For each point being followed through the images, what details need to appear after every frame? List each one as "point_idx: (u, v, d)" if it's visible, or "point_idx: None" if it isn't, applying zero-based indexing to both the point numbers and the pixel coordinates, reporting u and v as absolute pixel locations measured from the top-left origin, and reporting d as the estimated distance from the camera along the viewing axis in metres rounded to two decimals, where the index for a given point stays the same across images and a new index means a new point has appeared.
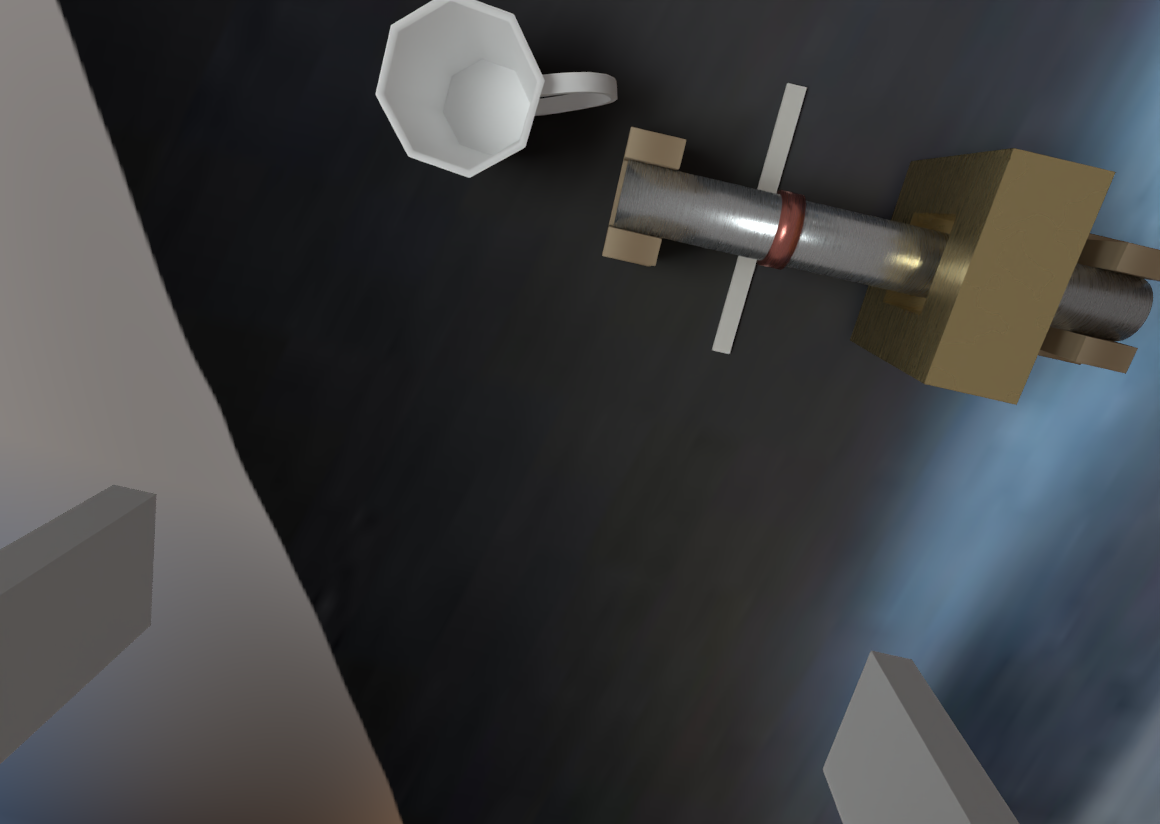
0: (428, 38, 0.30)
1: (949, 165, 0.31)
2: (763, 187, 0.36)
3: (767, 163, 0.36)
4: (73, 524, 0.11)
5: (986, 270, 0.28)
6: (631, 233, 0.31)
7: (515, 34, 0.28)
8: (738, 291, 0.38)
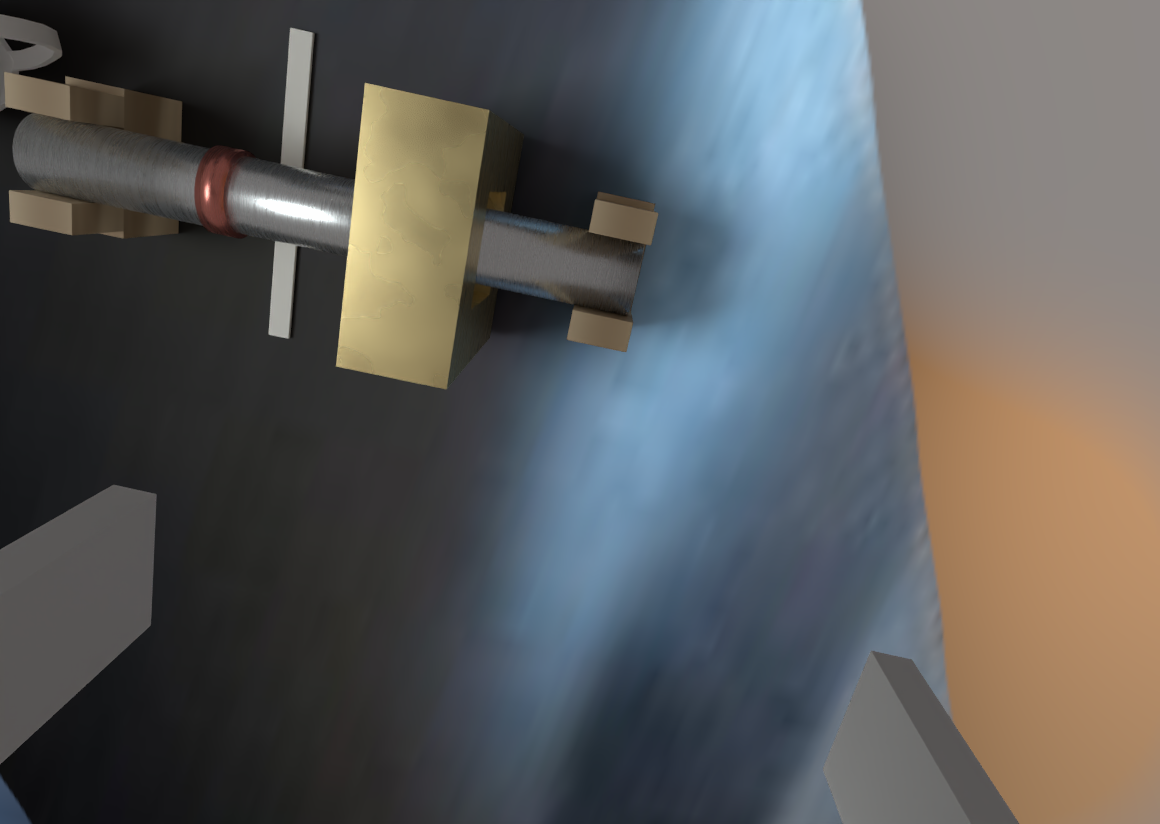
0: None
1: None
2: (287, 148, 0.32)
3: (286, 121, 0.32)
4: (73, 523, 0.11)
5: (372, 231, 0.23)
6: (35, 197, 0.27)
7: None
8: (283, 267, 0.34)
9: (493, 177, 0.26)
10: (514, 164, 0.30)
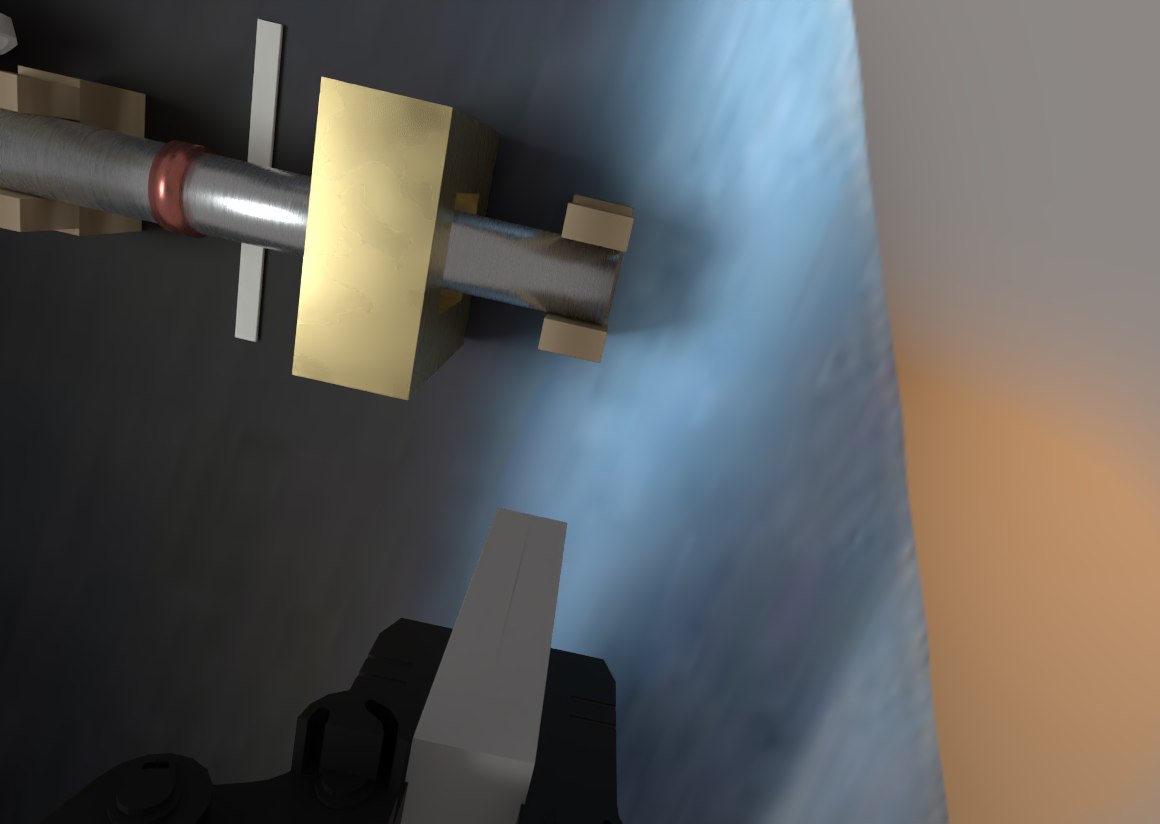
0: None
1: None
2: (255, 144, 0.31)
3: (253, 116, 0.31)
4: (503, 542, 0.13)
5: (329, 233, 0.22)
6: None
7: None
8: (250, 268, 0.33)
9: (461, 178, 0.24)
10: (488, 165, 0.29)
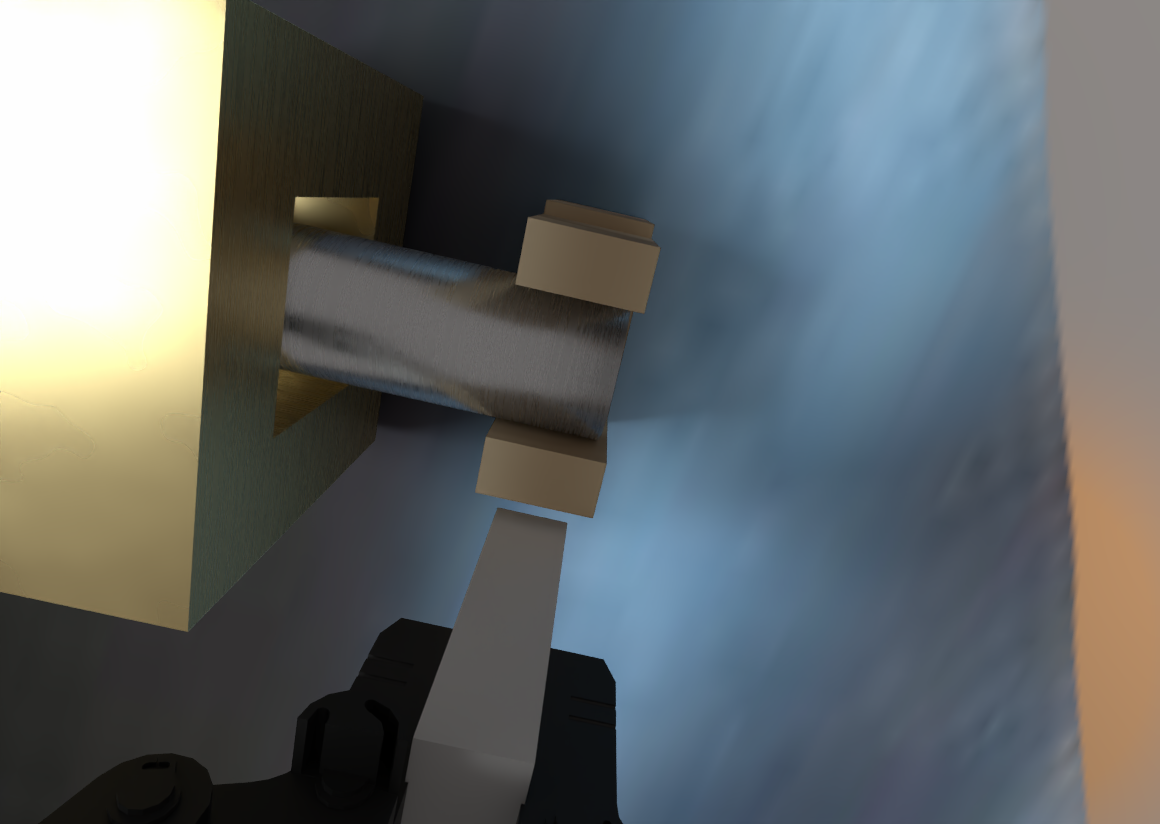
0: None
1: None
2: None
3: None
4: (503, 541, 0.13)
5: None
6: None
7: None
8: None
9: (309, 167, 0.12)
10: (399, 147, 0.17)
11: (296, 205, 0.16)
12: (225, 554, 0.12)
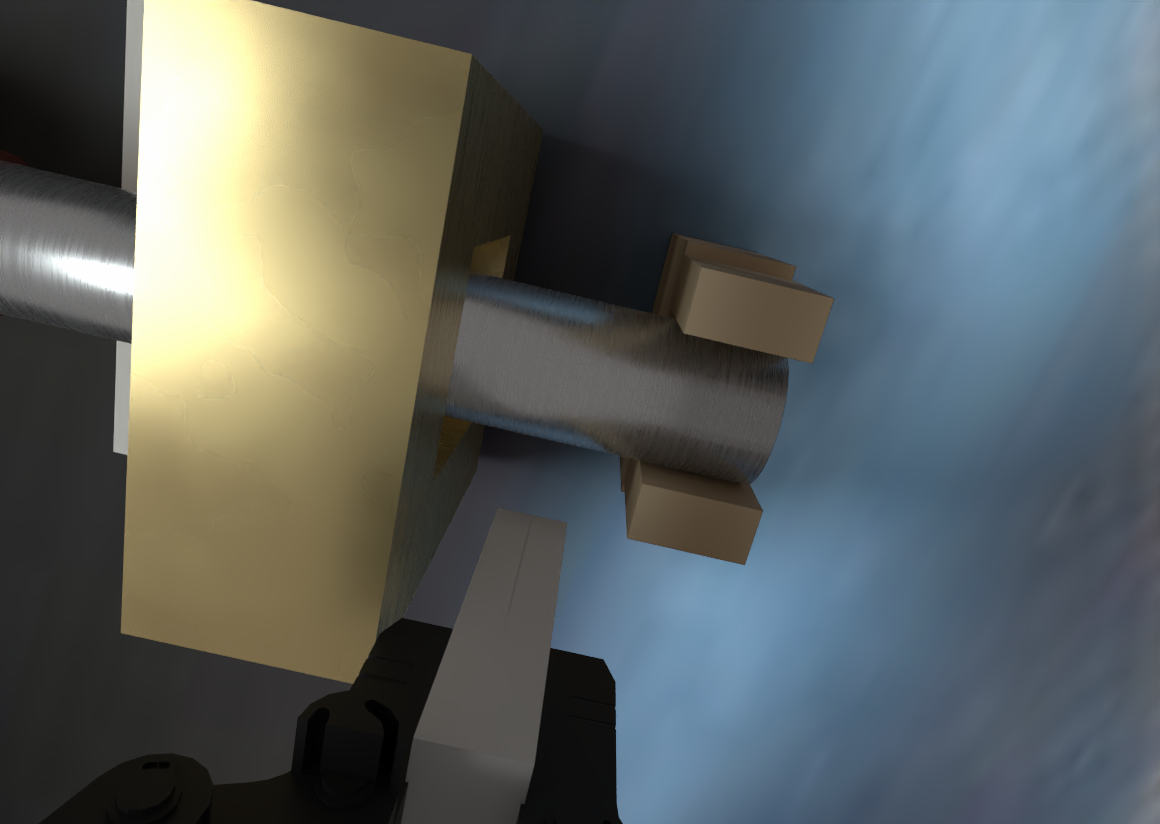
0: None
1: None
2: (133, 146, 0.19)
3: (128, 98, 0.18)
4: (503, 542, 0.13)
5: (185, 347, 0.10)
6: None
7: None
8: None
9: (483, 216, 0.12)
10: (526, 183, 0.16)
11: None
12: (395, 605, 0.12)
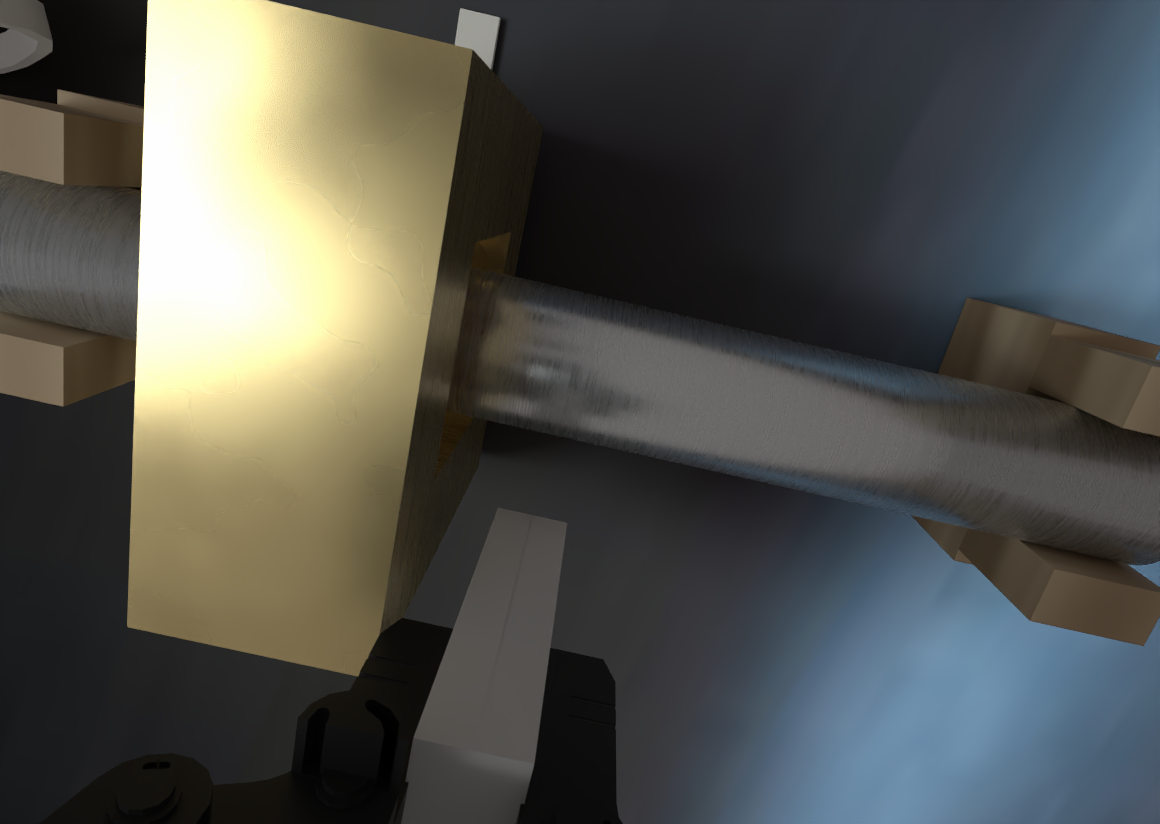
0: None
1: None
2: None
3: None
4: (503, 542, 0.13)
5: (190, 342, 0.10)
6: None
7: None
8: None
9: (484, 211, 0.12)
10: (526, 180, 0.17)
11: None
12: (398, 599, 0.12)
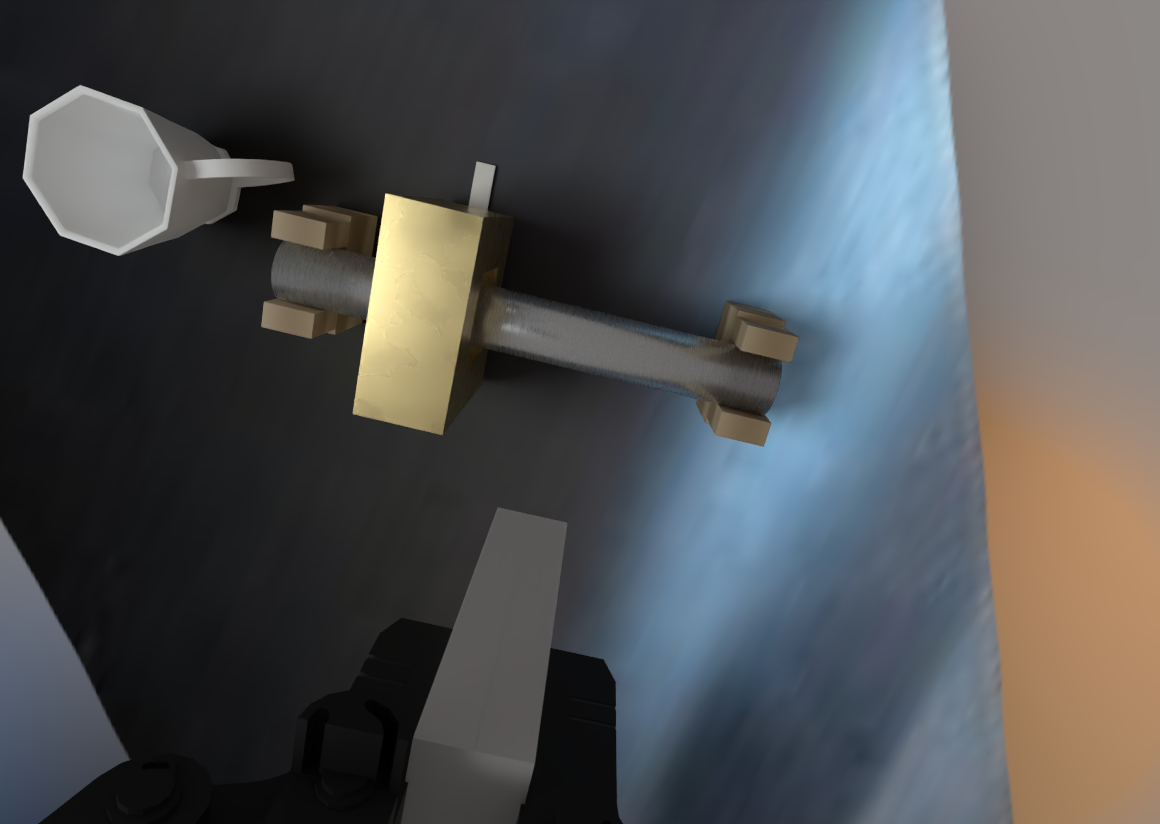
0: (86, 124, 0.31)
1: None
2: None
3: None
4: (503, 541, 0.13)
5: (387, 307, 0.29)
6: (285, 308, 0.32)
7: (147, 125, 0.30)
8: None
9: (486, 262, 0.31)
10: (506, 243, 0.36)
11: None
12: (451, 410, 0.31)
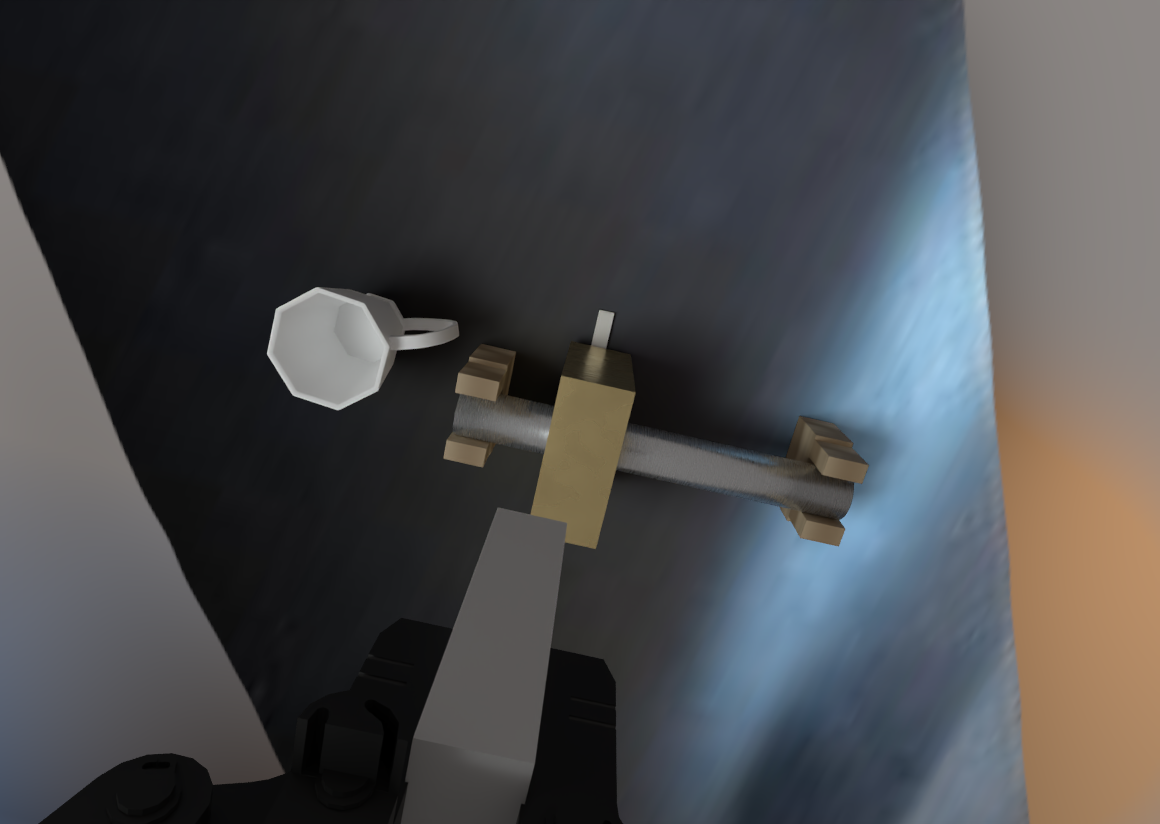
0: (309, 306, 0.40)
1: None
2: None
3: None
4: (503, 542, 0.13)
5: (557, 456, 0.38)
6: (463, 444, 0.41)
7: (366, 315, 0.38)
8: None
9: None
10: None
11: None
12: None
